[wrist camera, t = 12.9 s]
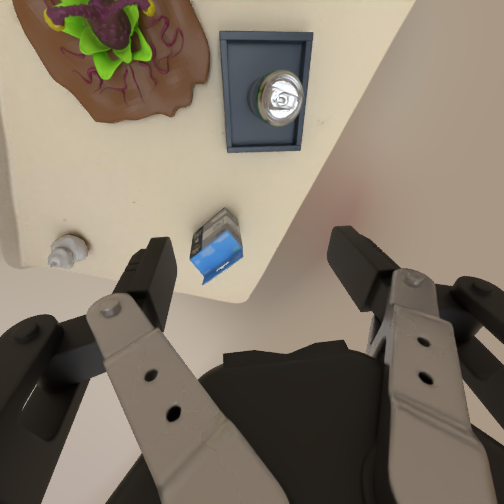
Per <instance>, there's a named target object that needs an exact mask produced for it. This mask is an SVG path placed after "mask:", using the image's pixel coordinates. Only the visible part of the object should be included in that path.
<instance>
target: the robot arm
mask: <svg viewBox="0 0 504 504" xmlns="http://www.w3.org/2000/svg"><path fill="white" fill-rule="evenodd" d="M327 260H328V263H329V265H330V266H331V268H332V269H333V271H334V272H335V274H336V275H337V277H338V278H339V280H340V281H341V283H342V284H343V286H344V287H345V289H346V290H347V292H348V294H349V295H350V296H351V298H352V300H353V301H354V302H355V304H356V306H357V307H358V309H359V310H360V312H368V311H372V312H373V313H374V316H373V318H372V321H371V327H370V333H369V339H368V344H367V350H366V354H364V353H361V352H358V351H354V350H350V349H348V347H347V345H346V343H345V341H344V340H336V341H328V342H319V343H314V344H312V345H309V346H307V347H304V348H302V349H299V350H297V351H295V352H292V353H289V354H279V353H272V352H264V351H257V350H252V351H243V352H234V353H225V354H223V362H224V363H223V364H221V365H219V366H217V367H215V368H213V369H211V370H210V371H208V372H206V373H205V374H204V375H202V376H201V377H200V378H199V379H198V380H197V379H196V377H195V376H194V375H193V373H192V372H191V371H190V369H189V368H188V367H187V365H186V364H185V363H184V361H183V360H182V359H181V357H180V356H179V355H178V353H177V352H176V351H175V349H174V348H173V346H172V345H171V344H170V342H169V341H168V340H167V339H166V337H165V336H164V334H163V333H162V332H164V328H165V324H166V319H167V315H168V311H169V307H170V303H171V298H172V294H173V290H174V286H175V281H176V277H177V264H176V260H175V256H174V252H173V247H172V243H171V240H170V238H169V237H157V238H151V240H150V242H149V244H148V246H147V248H146V249H140V250H139V251H138V252H137V253H135V254H134V255H133V256H132V258H131V259H130V261H129V263H128V265H127V267H126V269H125V272H123V274H122V276H121V278H120V280H119V282H118V283H117V285H116V287H115V289H114V291H113V293H112V294H110V295H107V296H105V297H103V298H101V299H100V300H98V301H96V302H95V303H94V304H93V305H92V306H91V307H90V308H89V310H88V311H87V314H86V315H83V316H80V317H77V318H74V319H70V320H67V321H64V322H61V323H58V321H57V320H56V319H55V317H53V316H52V315H47V314H44V315H37V316H33V317H30V318H27V319H25V320H23V321H21V322H19V323H17V324H16V325H14V326H12V327H11V328H10V329H8V330H7V331H6V332H5V333H4V334H3V335H2V336H1V337H0V504H41V502H42V500H43V497H44V494H45V492H46V489H47V487H48V484H49V482H50V479H51V477H52V474H53V472H54V469H55V467H56V464H57V462H58V459H59V456H60V454H61V451H62V449H63V446H64V444H65V441H66V439H67V436H68V434H69V431H70V429H71V426H72V424H73V421H74V419H75V416H76V413H77V411H78V409H79V405H80V403H81V401H82V398H83V396H84V393H85V391H86V388H87V386H88V383H89V381H90V378H92V377H94V376H97V375H99V374H102V373H104V372H107V373H108V376H109V378H110V380H111V383H112V385H113V387H114V390H115V392H116V394H117V397H118V399H119V401H120V403H121V406H122V408H123V410H124V413H125V415H126V417H127V419H128V422H129V424H130V426H131V429H132V431H133V433H134V435H135V438H136V440H137V442H138V445H139V447H140V449H141V452H142V454H141V456H140V457H139V458H138V460H137V461H136V462H135V464H134V465H133V466H132V468H131V469H130V471H129V472H128V473H127V475H126V476H125V477H124V479H123V480H122V481H121V483H120V484H119V486H118V487H117V488H116V490H115V491H114V492H113V494H112V495H111V496H110V498H109V499H108V501H107V502H106V503H105V504H504V446H503V445H502V444H500V443H499V442H497V441H496V440H494V439H493V438H492V437H490V436H489V435H487V434H486V433H484V432H483V431H481V430H480V429H478V428H477V427H476V426H474V425H473V424H471V423H470V418H469V413H468V408H467V402H466V397H465V391H464V386H463V380H464V381H465V382H466V384H467V385H468V386H469V387H470V388H471V390H472V391H473V392H474V393H475V394H476V396H477V397H478V398H479V399H480V401H481V402H482V403H483V405H484V406H485V407H486V408H487V409H488V411H489V412H490V413H491V414H492V416H493V417H494V418H495V419H496V421H497V422H498V423H499V424H500V426H501V427H502V428H503V429H504V365H503V364H502V363H501V362H500V361H499V360H498V359H497V358H496V357H495V356H494V355H493V354H492V353H491V352H490V351H489V350H488V349H487V348H486V347H485V346H484V345H483V344H482V343H481V342H480V341H479V340H478V339H477V338H476V337H475V336H474V335H475V334H476V333H477V332H478V331H479V329H481V328H482V327H483V326H484V327H485V328H486V329H488V330H489V331H490V332H491V333H492V334H493V335H494V336H495V337H496V338H497V339H498V340H499V341H501V342H502V343H503V344H504V291H502V290H501V289H500V288H498V287H497V286H495V285H493V284H492V283H490V282H487V281H485V280H482V279H479V278H475V277H470V276H463V277H460V278H458V279H457V281H456V282H455V283H454V285H453V286H448V285H440V284H434V282H433V281H432V280H431V279H430V278H429V277H428V276H426V275H425V274H423V273H421V272H418V271H415V270H411V269H404V268H400V267H399V266H398V265H397V264H396V263H395V262H394V261H393V260H392V259H391V258H389V256H387V255H386V254H385V253H384V252H382V250H381V249H380V248H379V247H377V245H376V244H375V243H373V242H372V241H371V240H370V239H368V238H366V237H364V236H363V235H360V234H359V233H358V232H357V231H356V230H355V229H354V228H353V227H352V226H336V227H334V228H333V230H332V233H331V238H330V242H329V246H328V251H327ZM462 379H463V380H462ZM36 384H37V386H36V387H35V385H36ZM34 387H35V389H34ZM33 389H34V391H33V393H32V394H31V392H32V390H33ZM30 394H31V396H30ZM29 396H30V398H29V400H28V401H27V399H28V397H29ZM26 401H27V403H26ZM25 403H26V405H25V407H24V408H23V406H24V404H25ZM22 409H23V410H22Z"/></svg>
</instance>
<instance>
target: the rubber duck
mask: <svg viewBox="0 0 504 504" xmlns="http://www.w3.org/2000/svg"><path fill="white" fill-rule="evenodd" d="M87 255H88V248H87V246H86V245H85V242H84V241H83V240H82V239H80V238H78V237H76V236H72V235H65V236H63V237H61V238H60V239H57V240H55V241H54V242H53V243H52V245H51V254H50V255H49V257H48V265H51V266H50V267H53V266H55V267H59V268H65V269H70V268H72V266H73V264H74V263H75V262H76V261H82V260H84V259H85V258H86V257H87Z"/></svg>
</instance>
